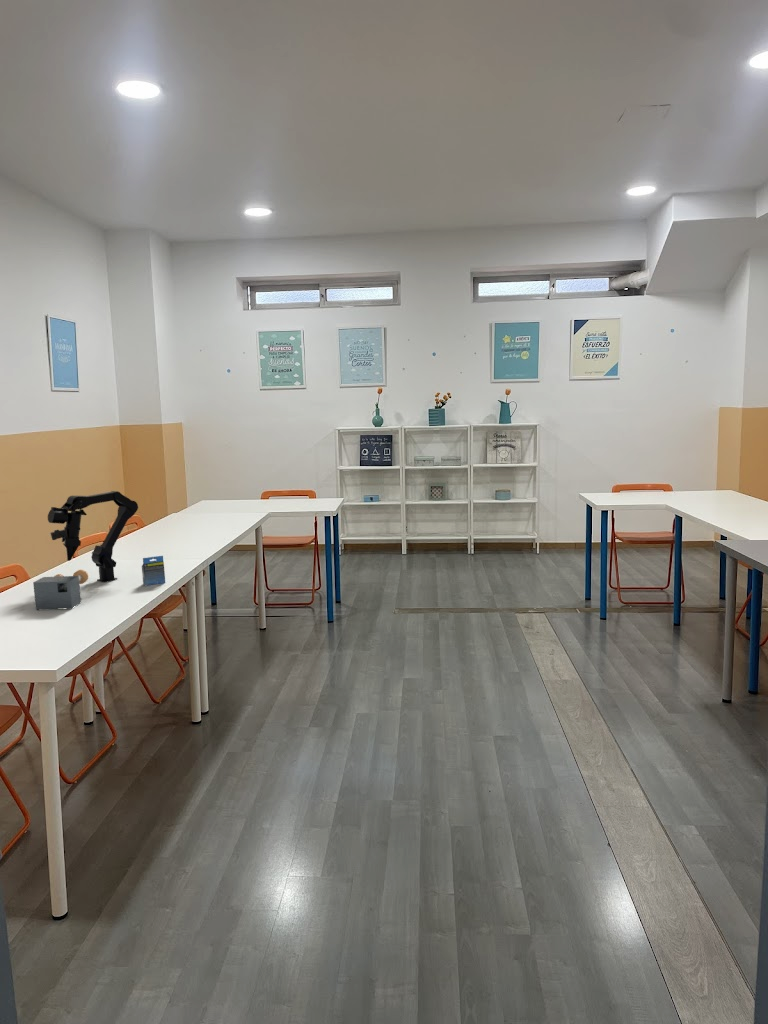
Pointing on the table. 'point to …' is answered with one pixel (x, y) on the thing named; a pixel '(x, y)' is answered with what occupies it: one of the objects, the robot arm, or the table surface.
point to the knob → (82, 577)
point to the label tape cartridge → (153, 570)
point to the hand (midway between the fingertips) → (68, 560)
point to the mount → (57, 592)
